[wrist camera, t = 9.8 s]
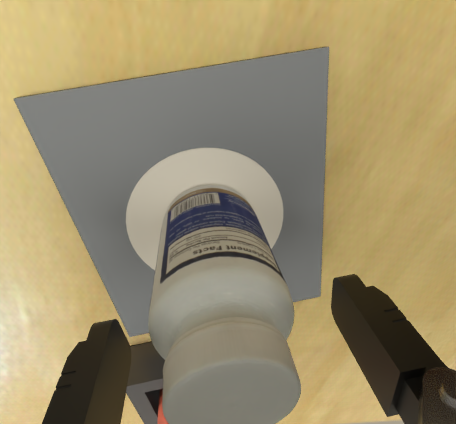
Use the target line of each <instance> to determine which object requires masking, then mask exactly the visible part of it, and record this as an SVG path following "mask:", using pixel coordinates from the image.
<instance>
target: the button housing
mask: <svg viewBox="0 0 456 424" xmlns="http://www.w3.org/2000/svg"><path fill="white" fill-rule="evenodd" d="M130 348H131V366H130V372H129V378H128V383H127V389H126V393H127V395H128V397H129V398H130V400H131V402H132V404H133V405H134V407H135V409H136V410H137V412H138V414H139V415H140V417H141V419H142V420H143V422H144V424H158V423H157V422H158V406H159V391H160V389H163V366H164V363H165V360H164V359H163V358H162V357H161V356H160V354H159V353H158V352H157V350H156V349H155V347H154V345H153V343H152V342H148V343H144V344H139V345H134V346H130Z"/></svg>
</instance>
